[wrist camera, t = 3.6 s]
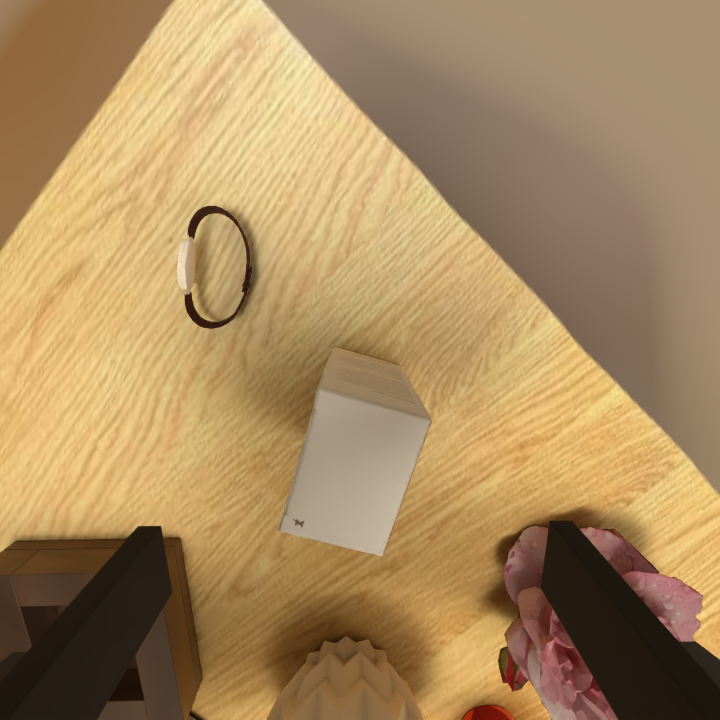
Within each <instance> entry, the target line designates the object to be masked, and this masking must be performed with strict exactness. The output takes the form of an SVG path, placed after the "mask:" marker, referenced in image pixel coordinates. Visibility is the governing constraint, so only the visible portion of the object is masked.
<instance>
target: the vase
mask: <svg viewBox="0 0 720 720" xmlns="http://www.w3.org/2000/svg"><path fill="white" fill-rule="evenodd" d="M267 720H426V719H425V717H424V715H423V713H422V711H421V709H420V707H419V705H418V703H417V701H416V699H415V698H414V696H413V694H412V691H411V690H410V688H409V686H408V684H407V682H406V681H405V680H404V679H402V678H400V676H399V675H398V674H397V673H396V671H395V670H394V666H393V665H391V664H389V663H388V659H387V655H386V651H385V650H379V649H374V648H373V646H372V645H371V643H370V641H369V640H368V639H367V640H363V641H360V642H355V641H353V640H352V639H350V638H349V637H347V636H345V637H344V638H342V639H341V640H340V641H338V642H337V643H333V642H328V641H324V642H323V644H322V646H321V648H320V650H319V651H316V652H311V653H308V656H307V659H306V662H305V664H304V665H302V667H301V668H300V669H299V670H298V672H297V673H296V674H295V676H294V677H293V678H292V679H291V681H290V682H289V683H288V684H287V686H286V687H285V688H284V689H283V691H282V692H281V693H280V695H279V696H278V697H277V700H276V702H275V704H274V706H273V708H272V710H271V712H270V714H269V716H268V718H267Z"/></svg>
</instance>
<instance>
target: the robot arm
mask: <svg viewBox="0 0 720 720" xmlns="http://www.w3.org/2000/svg"><path fill="white" fill-rule="evenodd" d="M540 588H541V589H542V591H543V593H544V595H545V596H546V598H547V600H548V601H549V603H550V605H551V606H552V608H553V610H554V612H555V613H556V615H557V617H558V618H559V620H560V622H561V623H562V625H563V627H564V629H565V630H566V632H567V634H568V635H569V637H570V639H571V640H572V642H573V644H574V646H575V647H576V649H577V651H578V652H579V654H580V656H581V657H582V659H583V661H584V663H585V664H586V666H587V668H588V669H589V671H590V673H591V674H592V676H593V678H594V680H595V681H596V683H597V685H598V686H599V688H600V690H601V691H602V693H603V695H604V697H605V698H606V700H607V702H608V703H609V705H610V707H611V708H612V710H613V712H614V714H615V715H616V717H617V719H618V720H720V660H719V659H718V658H717V657H715V656H714V655H713V654H711V653H710V652H709V651H707V650H706V649H705V648H704V647H702V646H701V645H700V644H698V643H697V642H696V641H684V642H679V641H678V640H677V639H676V638H675V637H674V636H673V634H672V633H671V632H670V631H669V630H668V629H667V628H666V627H665V625H664V624H663V623H662V622H661V621H660V620H659V619H658V617H657V616H656V615H655V614H654V613H653V612H652V611H651V610H650V608H649V607H648V606H647V605H646V604H645V603H644V602H643V600H642V599H641V598H640V597H639V596H638V595H637V594H636V593H635V591H634V590H633V589H632V588H631V587H630V586H629V585H628V583H627V582H626V581H625V580H624V579H623V578H622V577H621V576H620V574H619V573H618V572H617V571H616V570H615V569H614V568H613V566H612V565H611V564H610V563H609V562H608V561H607V560H606V558H605V557H604V556H603V555H602V554H601V553H600V552H599V551H598V549H597V548H596V547H595V546H594V545H593V544H592V543H591V541H590V540H589V539H588V538H587V537H586V536H585V535H584V534H583V532H582V531H581V530H580V529H579V528H578V527H577V526H576V524H575V523H574V522H573V521H550V522H549V529H548V536H547V543H546V550H545V558H544V565H543V572H542V579H541V586H540ZM171 594H172V586H171V581H170V575H169V569H168V563H167V558H166V552H165V546H164V541H163V535H162V529H161V526H138V527H137V528H136V529H135V531H134V532H133V533H132V534H131V535H130V536H129V537H128V539H127V540H126V541H125V542H124V543H123V544H122V545H121V546H120V548H119V549H118V550H117V551H116V552H115V553H114V554H113V555H112V557H111V558H110V559H109V560H108V561H107V562H106V563H105V564H104V566H103V567H102V568H101V569H100V570H99V571H98V572H97V574H96V575H95V576H94V577H93V578H92V579H91V580H90V581H89V583H88V584H87V585H86V586H85V587H84V588H83V589H82V590H81V592H80V593H79V594H78V595H77V596H76V597H75V598H74V599H73V601H72V602H71V603H70V604H69V605H68V606H67V607H66V608H65V610H64V611H63V612H62V613H61V614H60V615H59V616H58V618H57V619H56V620H55V621H54V622H53V623H52V624H51V625H50V627H49V628H48V629H47V630H46V631H45V632H44V633H43V634H42V636H41V637H40V638H39V639H38V640H37V641H36V642H35V643H34V645H33V646H32V647H31V648H30V649H29V650H28V651H27V652H13V653H11V654H10V655H9V656H7V657H6V658H5V659H3V660H2V661H1V662H0V720H97V719H98V718H99V716H100V714H101V713H102V711H103V709H104V707H105V706H106V704H107V702H108V701H109V699H110V697H111V696H112V694H113V692H114V691H115V689H116V687H117V685H118V684H119V682H120V680H121V679H122V677H123V675H124V674H125V672H126V670H127V669H128V667H129V665H130V663H131V662H132V660H133V658H134V657H135V655H136V653H137V652H138V650H139V648H140V647H141V645H142V643H143V641H144V640H145V638H146V636H147V635H148V633H149V631H150V630H151V628H152V626H153V625H154V623H155V621H156V619H157V618H158V616H159V614H160V613H161V611H162V609H163V608H164V606H165V604H166V603H167V601H168V599H169V597H170V596H171Z"/></svg>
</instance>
